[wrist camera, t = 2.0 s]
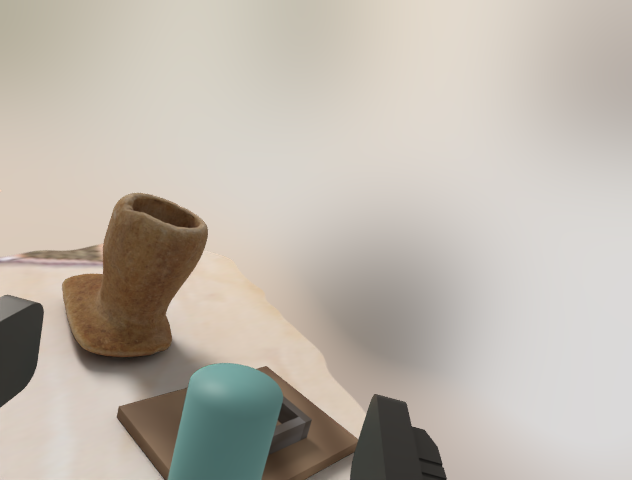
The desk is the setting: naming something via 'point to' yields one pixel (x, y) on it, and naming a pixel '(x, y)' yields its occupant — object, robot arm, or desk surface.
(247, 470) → the teal pillar
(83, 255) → the desk surface
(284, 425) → the walnut base board
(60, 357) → the desk surface
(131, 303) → the brown hollow flared cylinder
